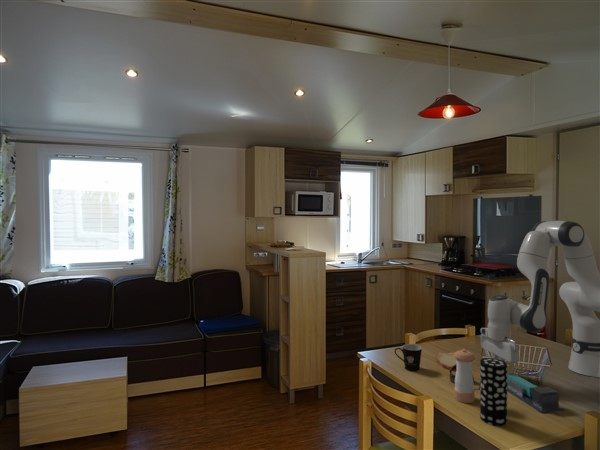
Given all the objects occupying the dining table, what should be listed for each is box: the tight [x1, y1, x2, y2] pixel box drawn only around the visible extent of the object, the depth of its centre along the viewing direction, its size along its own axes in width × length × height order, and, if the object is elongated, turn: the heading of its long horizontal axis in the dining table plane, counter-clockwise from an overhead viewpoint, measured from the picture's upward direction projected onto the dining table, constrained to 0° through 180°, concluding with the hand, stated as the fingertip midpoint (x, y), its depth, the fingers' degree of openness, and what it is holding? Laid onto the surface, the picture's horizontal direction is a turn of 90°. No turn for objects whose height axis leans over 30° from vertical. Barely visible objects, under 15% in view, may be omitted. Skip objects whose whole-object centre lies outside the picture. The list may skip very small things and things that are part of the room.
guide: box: [507, 378, 565, 414], centre depth 153 cm, size 9×24×6 cm, turn 10°
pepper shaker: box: [453, 348, 475, 404], centre depth 152 cm, size 7×7×19 cm
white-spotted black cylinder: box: [479, 357, 508, 427], centre depth 136 cm, size 8×8×20 cm
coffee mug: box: [394, 343, 423, 372], centre depth 183 cm, size 12×9×10 cm
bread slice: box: [435, 351, 457, 373], centre depth 189 cm, size 18×18×4 cm
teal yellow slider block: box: [507, 362, 539, 397], centre depth 158 cm, size 4×15×7 cm, turn 10°
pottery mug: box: [448, 364, 476, 384], centre depth 169 cm, size 12×10×8 cm
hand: (499, 365), depth 170 cm, fingers closed
